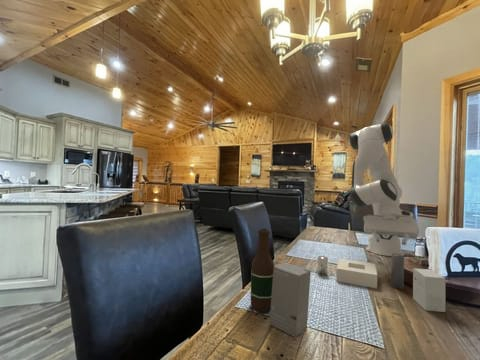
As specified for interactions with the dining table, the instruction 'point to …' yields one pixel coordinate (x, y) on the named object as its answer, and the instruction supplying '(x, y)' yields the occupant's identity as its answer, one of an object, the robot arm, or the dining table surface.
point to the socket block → (357, 273)
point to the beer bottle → (262, 275)
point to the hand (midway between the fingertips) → (390, 242)
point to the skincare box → (290, 298)
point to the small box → (429, 289)
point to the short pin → (322, 265)
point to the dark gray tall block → (397, 271)
